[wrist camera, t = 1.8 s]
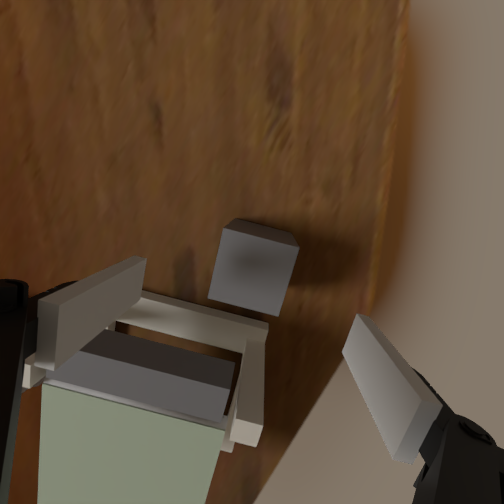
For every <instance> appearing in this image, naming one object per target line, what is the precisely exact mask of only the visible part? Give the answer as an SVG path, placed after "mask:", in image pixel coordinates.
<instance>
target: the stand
mask: <svg viewBox="0 0 504 504" xmlns="http://www.w3.org/2000/svg"><path fill="white" fill-rule="evenodd" d="M116 321H120V322H124V323H127V324H131V325H135V326H139V327H143V328H147V329H151V330H154V331H158V332H162V333H166V334H170V335H174V336H177V337H181V338H185V339H189V340H193V341H197V342H201V343H204V344H208V345H212V346H216V347H220V348H224V349H228V350H231V351H235V352H239V353H243V355H242V361H241V368H240V373H239V377H238V380H237V384H236V387H235V391H234V394H233V398H232V402H231V405H230V409H229V412H228V422H227V426H226V430H225V434H224V438H223V441H222V445H221V448H220V450H223V451H227V452H230V453H232V450H233V447H234V443H235V442H238V443H242V444H246V445H249V446H253V447H257V444H258V441H259V438H260V435H261V432H262V429H263V422H264V367H265V341H266V337H267V334H268V331H269V323H267V322H263V321H259V320H255V319H251V318H248V317H244V316H240V315H236V314H232V313H228V312H224V311H221V310H217V309H213V308H209V307H205V306H201V305H198V304H194V303H190V302H186V301H182V300H178V299H174V298H171V297H167V296H163V295H159V294H155V293H151V292H148V291H144V290H142V291H141V298H140V300H139V301H138V302H137V303H135V304H134V305H133V306H132V307H131V308H129V309H128V310H127V311H126V312H125V313H123V314H122V315H121V316H120V317H119V318H117V319H116V320H115V321H114V322H113V323H111V324H110V325H109V326H108V327H107V328H105V329H108V330H112V331H115V325H116ZM34 363H35V353H33V354H32V355H31V356H29V357H28V358H26V359H25V368H24V376H23V384H22V387H25V388H29V389H30V388H31V387H32V386H33V385H35V384H36V383H37V382H38V381H39V380H41V379H42V378H43V377H44V376H45V375H46V369H44V368H41V367H37V366H34Z"/></svg>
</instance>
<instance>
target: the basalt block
mask: <svg viewBox="0 0 504 504" xmlns="http://www.w3.org/2000/svg"><path fill="white" fill-rule="evenodd" d="M298 251H299V246H298V244H297V242H296V240H295V239H294V237H293V235H292V233H290V232H286V231H282V230H278V229H274V228H271V227H267V226H263V225H259V224H255V223H251V222H248V221H244V220H240V219H236V218H235V219H233V220H232V221H231V222H230V223H229V224H227V225H226V226H225V227H224V228H223V232H222V237H221V241H220V246H219V250H218V254H217V259H216V263H215V268H214V272H213V276H212V281H211V285H210V290H209V294H208V298H209V299H212V300H216V301H220V302H224V303H228V304H232V305H235V306H239V307H243V308H247V309H251V310H255V311H259V312H262V313H266V314H270V315H274V316H279V313H280V310H281V306H282V303H283V300H284V297H285V293H286V290H287V287H288V284H289V280H290V277H291V274H292V271H293V267H294V264H295V261H296V258H297V254H298Z"/></svg>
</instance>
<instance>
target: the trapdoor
mask: <svg viewBox="0 0 504 504" xmlns="http://www.w3.org/2000/svg"><path fill="white" fill-rule="evenodd" d="M234 367H235V362H231V361H227V360H223V359H220V358H216V357H212V356H208V355H204V354H200V353H196V352H193V351H189V350H185V349H181V348H177V347H173V346H169V345H166V344H162V343H158V342H154V341H150V340H146V339H142V338H139V337H135V336H131V335H127V334H123V333H119V332H116V331H112V330H108V329H104V330H103V331H102V332H101V333H99V334H98V335H97V336H96V337H94V338H93V339H92V340H91V341H90V342H88V343H87V344H86V345H85V346H84V347H82V348H81V349H80V350H79V351H78V352H76V353H75V354H74V355H73V356H72V357H70V358H69V359H68V360H67V361H66V362H64V363H63V364H62V365H61V366H60V367H58V368H57V369H56V370H55V371H52V370H48V369H46V377H45V379H44V382H43V384H42V404H41V429H40V454H39V480H38V504H205V500H206V497H207V493H208V490H209V486H210V483H211V479H212V476H213V472H214V469H215V465H216V462H217V458H218V455H219V452H220V448H221V445H222V441H223V438H224V434H225V430H226V426H227V422H228V416H225V415H223V414H224V410H225V407H226V403H227V399H228V396H229V392H230V388H231V383H232V377H233V372H234Z"/></svg>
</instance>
